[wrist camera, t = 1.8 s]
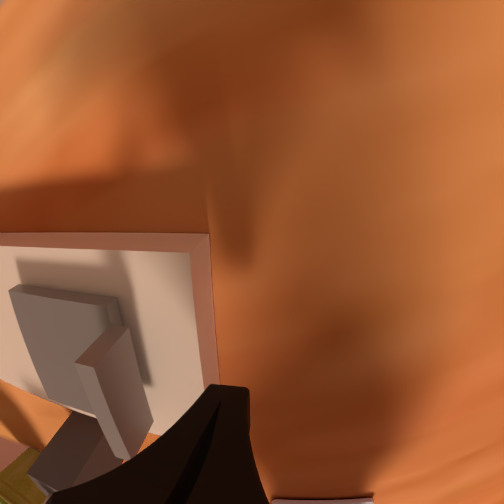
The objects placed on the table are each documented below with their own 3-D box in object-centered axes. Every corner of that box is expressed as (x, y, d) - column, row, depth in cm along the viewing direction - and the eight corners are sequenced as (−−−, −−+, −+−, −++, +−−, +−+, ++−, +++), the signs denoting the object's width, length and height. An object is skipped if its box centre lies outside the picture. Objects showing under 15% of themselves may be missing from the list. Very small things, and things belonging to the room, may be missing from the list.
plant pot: (46, 477, 26) (18, 519, 18) (5, 428, 24) (-32, 472, 16) (96, 496, 25) (68, 549, 17) (52, 446, 22) (11, 504, 14)
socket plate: (222, 411, 16) (212, 445, 14) (5, 356, 18) (-13, 372, 16) (209, 233, 13) (189, 252, 11) (-31, 233, 15) (-56, 243, 13)
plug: (126, 455, 19) (84, 533, 12) (90, 442, 20) (45, 513, 12) (111, 422, 18) (57, 508, 11) (73, 410, 19) (17, 484, 11)
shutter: (162, 420, 13) (137, 471, 10) (55, 390, 14) (24, 426, 11) (135, 299, 11) (87, 347, 8) (18, 283, 12) (-29, 313, 9)
